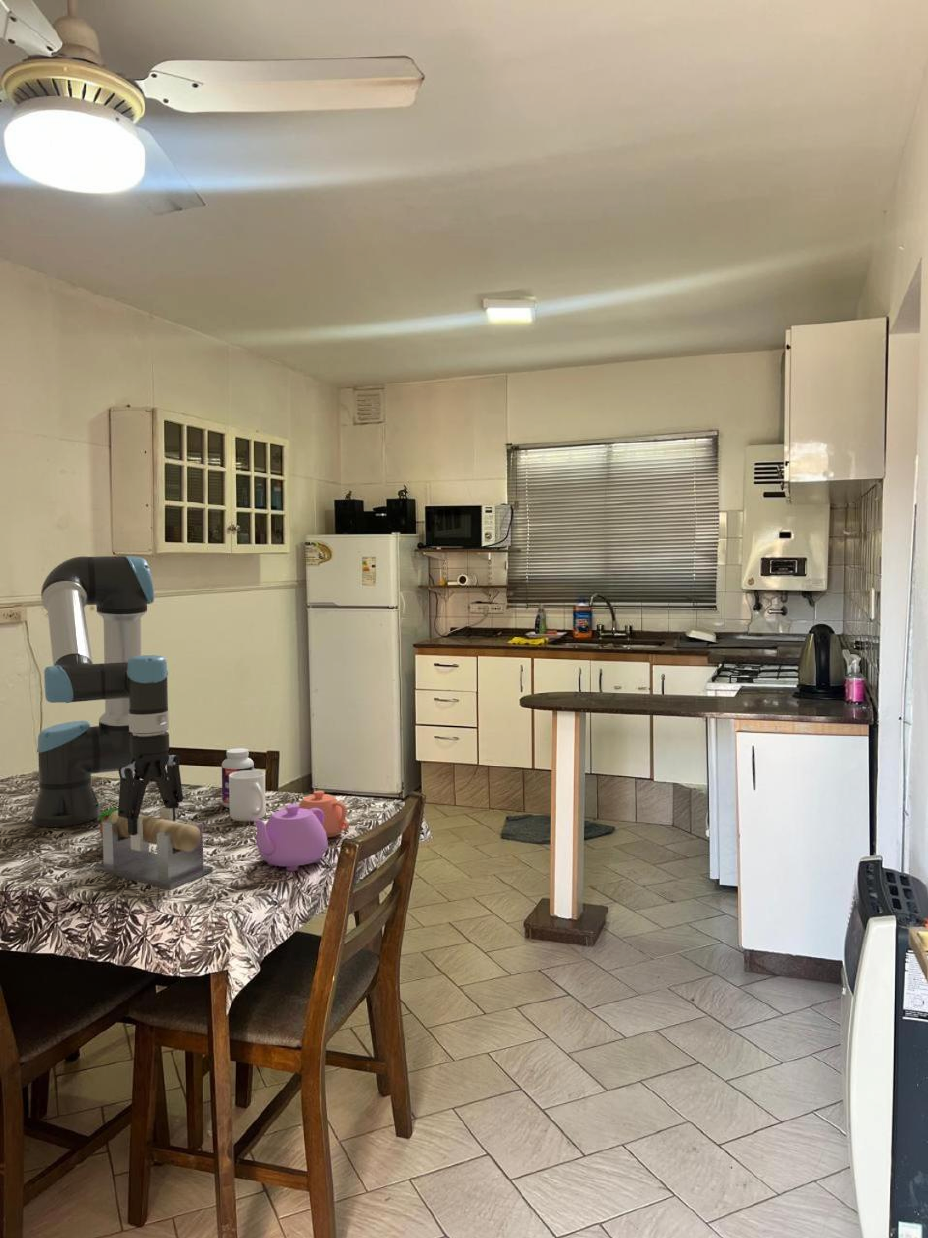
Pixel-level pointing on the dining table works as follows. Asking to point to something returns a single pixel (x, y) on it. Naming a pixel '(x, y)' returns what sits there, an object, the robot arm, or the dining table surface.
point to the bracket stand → (151, 859)
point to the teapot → (292, 837)
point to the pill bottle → (234, 769)
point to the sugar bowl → (327, 811)
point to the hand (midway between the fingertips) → (152, 844)
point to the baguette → (181, 833)
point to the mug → (247, 795)
